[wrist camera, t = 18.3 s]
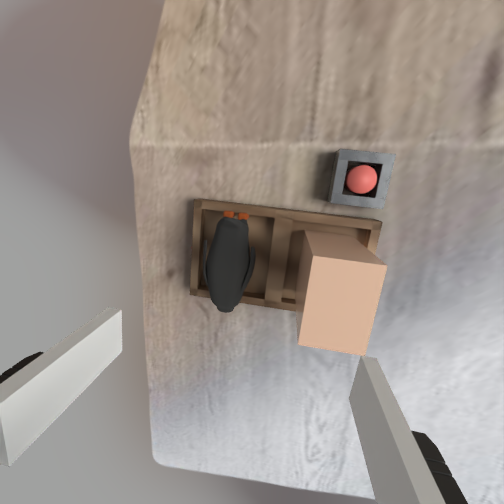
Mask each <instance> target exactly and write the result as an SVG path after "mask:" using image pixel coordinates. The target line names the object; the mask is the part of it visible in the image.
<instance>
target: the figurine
mask: <svg viewBox="0 0 504 504" xmlns="http://www.w3.org/2000/svg"><path fill="white" fill-rule="evenodd" d="M234 216H235V213H234V212H233V211H224V213H223V218H221V219H220V221H219V222H218V223H217V225H216V230H215V234H214V237H213V240H212V243H211V246H210V249H209V253H208V256H207V261H206V253H207V240H204V249H203V275H204V279H205V282H206V284H207V286H208V289H209V293H210V297H211V300H212V302H213V303H214V304H215V305H216V306H217V309H218V310H219V311H221V312H226V313H227V312H231V311H233V309H234V307H235V306H236V305H238V303H239V302H240V301H241V298H242V295H243V292H244V290H245V288H246V287H247V285H248V283H249V281H250V278H251V276H252V273H253V270H254V266H255V259H256V253H255V248H254V246H252V247H251V250H250V249H249V236H248V234H249V227H248V223H247V219H248V218H249V215H248V214H247V213H242V212H240V213H239V214H238V219H235V218H233V217H234Z"/></svg>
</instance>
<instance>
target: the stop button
mask: <svg viewBox="0 0 504 504" xmlns="http://www.w3.org/2000/svg"><path fill="white" fill-rule="evenodd" d="M376 182H377V174H376V172H375V170H374V169H373V168H372V167H370V166H367V165H361V166H357V167H353V168H351V169H350V170H348V172H347V173H346V176H345V181H344V185H345V187H346V188H347V189H348V190H349V191H351V192H354V193H366V192H369V191H370V190H372V189H373V187H374V186H375V184H376Z"/></svg>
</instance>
